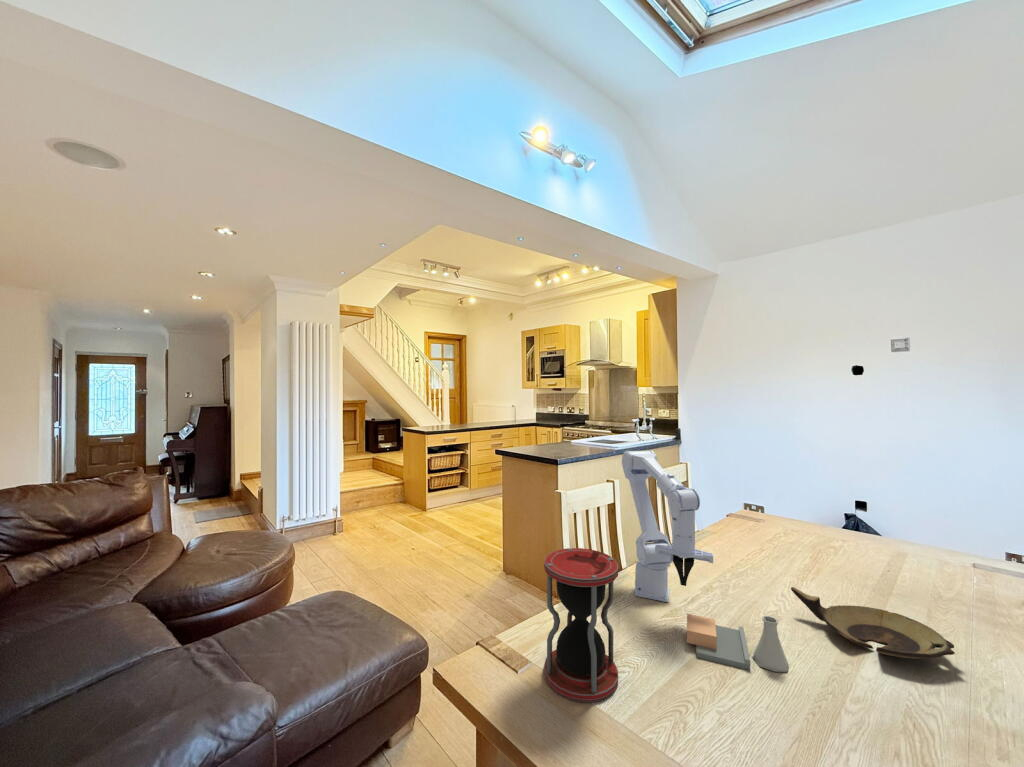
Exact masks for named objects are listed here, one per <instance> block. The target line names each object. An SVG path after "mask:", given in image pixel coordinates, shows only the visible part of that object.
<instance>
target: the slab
mask: <svg viewBox="0 0 1024 767" xmlns="http://www.w3.org/2000/svg"><path fill="white" fill-rule="evenodd" d="M715 625H716V619H715V618H711V617H710V618H709V617H705V616H700V615H696V614H691V613H687V614H686V643H688V644H691V645H700V646H704V647H708V648H712V649H717V636H716V626H715Z"/></svg>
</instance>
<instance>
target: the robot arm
mask: <svg viewBox="0 0 1024 767" xmlns="http://www.w3.org/2000/svg"><path fill="white" fill-rule="evenodd" d="M621 466H622V470H623V474H624V477H625V478H626V480H628V481H629V482H628V483H629V485H630V490H631V493H632V494H631V495H632V498H633V502H634V506H635V509H636V514H637V518H638V522H639V526H640V530H641V533H640V534H639V536H638V537H637V538H636V540H635V545H636V546H635V547H636V557H637V559H638V561H636V564H635V572H634V574H635V575H634V578H635V579H634V587H635V592H634V596H636V597H640V598H645V599H650V600H655V601H659V602H665V603H668V602H669V598H670V588H669V584H668V583H669V581H668V576H669V575H668V573H669V571H668V570H669V569H668V568H669V567H671V564H672V563H673V565H674V566H675V569H676V572H677V574H678V577H679V581H680V583H679V584H680V586H683V587H686V586H687V582H688V578H689V575H690V572H691V570H692V569H693V567H694V564H695V560H696V561H704V562H708V563H709V564H714V553H712V552H707V551H703V550H700V549H696V511H697V510H699V508H700V506H701V499H700V495H699V494H698V492H697V491H696V490H695V488H689V487H686V486H685V485H684V484H682V482H681V481H680V480H679V479H678V478H677V477H675V474H674V473H671V472H666V471H665V470H664V468H663V467H662V466H661V465H660V464H659V462H658V456H657V454H656V453H655V452H654V451H653V450H650V449H648V450H625V451H624V452H623V454H622V458H621ZM651 477H652V478H654V480H656V487H657V488H658V490H659V491H661V492H662V494H663V495H664V496H665V497H666V498H667V502H668V503H667V504H668V506H669V514H670V516H671V518H672V520H671V521H672V522H671V524H672V526H671V528H672V530H671V532H672V533H671V535H672V536H671V539H672V540H671V541H672V542H671V543H672V544H671V543H670V540H669V537H668V535H666V534H665V533H663V532H662V531H660V530H659V525H658V522H657V519H656V516H655V512H654V508H653V505H652V501H651V497H650V493H649V489H648V486H647V479H649V478H651Z"/></svg>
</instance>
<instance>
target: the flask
mask: <svg viewBox="0 0 1024 767" xmlns="http://www.w3.org/2000/svg"><path fill="white" fill-rule="evenodd" d="M762 621H763V629H762V633H761V636H760V638H759V640H758V643H757V645H756V647H755V649H754V651H753V656H752V659H753V660H754V661H755V663H756V664H757V665H758V667H761V668H763V669H767V670H769V671H772V672H775V673H777V672H781V673H785V672H788V671H789V666H790V665H789V663H788V659H787V657H786V654H785V652H784V649H783V646H782V643H781V640H780V637H779V634H778V633H779V632H778V625H779V620H778V619H777V618H776V617H775V616H771V615H762Z"/></svg>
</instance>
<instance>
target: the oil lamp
mask: <svg viewBox="0 0 1024 767" xmlns="http://www.w3.org/2000/svg"><path fill="white" fill-rule="evenodd" d="M790 590H791V591H792V593H793V594H794V595H795V596H796V597H797V598H798V599H799V600H800V601H801V602H802V604H804V605H805V606H806V608H807V609H809V611H810V612H811V613H812V614H813V615H814V616H815V617H816V618H817V619H819V620H820V621H822V622H825V624H826V625H827V627H829V628H830V629H831V630H833V631H834V632H835V633H837V634H839V635H840V636H841V637H843V638H845V639H846V640H847V641H848V640H849V641H850V642H852V643H854V644H856V645H859V646H861V647H864V648H867V649H874V647H873V646H872V645H871V644H869V643H867V642H870V641H871V642H875V643H879V644H884V645H883V646H880V647H878V646H877V647H876V650H875V651H876V653H878V654H882V655H887V656H890V657H895V658H896V657H897V658H902V659H903V658H904V659H916V660H918V659H935V658H941V657H943V656H952V655H953V656H954V655H955V654H956V652H955V651H954V650H952V649H954V648H955V645H954V644H953V643H952V642H951V641H949V640H947V639H945V638H944V636H942V635H941V634H940V633H938V632H937V630H935V629H933V628H931V627H929V626H928V625H925V624H924V623H922V622H919V621H917V620H915V619H913V618H910V617H908V616H906V615H902V614H900V613H897V612H896V613H895V612H890V611H888V610H886V609H885V610H884V609H882V608H881V609H880V608H875V607H871V606H870V607H868V606H862V605H851V604H850V605H832V606H829V607H824V606H823V605H822V604H821V597H819V596H813V595H809V594H807V593H804V592H803V591H801V590H799V589H798V588H797V587H793V586H791V588H790Z"/></svg>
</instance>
